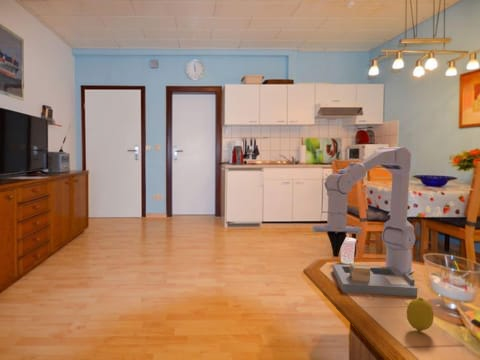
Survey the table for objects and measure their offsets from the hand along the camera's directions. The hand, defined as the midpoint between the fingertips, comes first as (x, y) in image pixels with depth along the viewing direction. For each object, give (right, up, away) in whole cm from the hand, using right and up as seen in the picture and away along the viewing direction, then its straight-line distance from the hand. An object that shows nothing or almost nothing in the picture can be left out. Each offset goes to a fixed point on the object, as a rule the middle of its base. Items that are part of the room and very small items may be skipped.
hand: (335, 255), depth 113 cm
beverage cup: (+11, -8, +26) cm, 29 cm away
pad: (+19, -7, -2) cm, 20 cm away
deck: (+12, -9, +3) cm, 16 cm away
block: (+7, -7, 0) cm, 10 cm away
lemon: (+12, -12, -29) cm, 33 cm away
